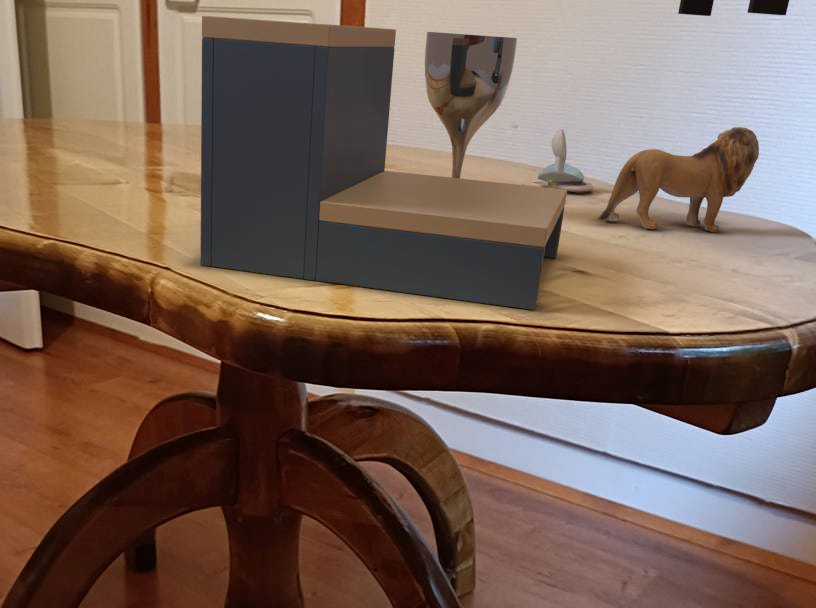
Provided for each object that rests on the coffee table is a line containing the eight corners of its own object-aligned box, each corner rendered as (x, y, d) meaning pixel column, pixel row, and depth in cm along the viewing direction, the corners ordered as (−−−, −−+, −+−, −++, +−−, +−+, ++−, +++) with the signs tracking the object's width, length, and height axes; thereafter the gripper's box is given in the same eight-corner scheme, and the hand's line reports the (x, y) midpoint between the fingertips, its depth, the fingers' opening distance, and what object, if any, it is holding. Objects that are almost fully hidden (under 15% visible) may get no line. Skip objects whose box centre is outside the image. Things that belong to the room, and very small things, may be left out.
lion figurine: (720, 222, 93) (742, 124, 89) (754, 233, 88) (779, 131, 85) (583, 219, 89) (601, 118, 85) (612, 231, 85) (632, 124, 81)
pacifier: (594, 189, 109) (541, 182, 111) (606, 132, 107) (552, 125, 108) (588, 198, 103) (533, 190, 104) (601, 137, 100) (544, 130, 102)
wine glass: (494, 219, 86) (518, 38, 80) (406, 211, 87) (423, 31, 81) (495, 205, 93) (516, 38, 87) (413, 198, 94) (429, 31, 88)
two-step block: (556, 256, 73) (590, 43, 67) (534, 310, 58) (576, 41, 52) (284, 223, 78) (292, 22, 72) (200, 265, 63) (201, 15, 57)
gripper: (679, -263, 81) (631, 12, 90) (838, -372, 59) (753, 9, 68) (763, -254, 82) (708, 18, 91) (952, -359, 59) (854, 17, 68)
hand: (727, 15), depth 79 cm, fingers open, 13 cm apart
